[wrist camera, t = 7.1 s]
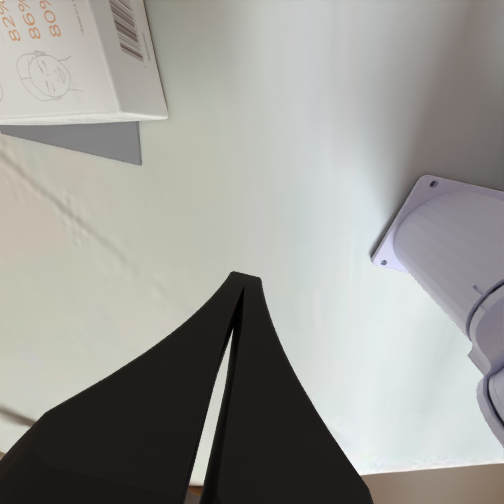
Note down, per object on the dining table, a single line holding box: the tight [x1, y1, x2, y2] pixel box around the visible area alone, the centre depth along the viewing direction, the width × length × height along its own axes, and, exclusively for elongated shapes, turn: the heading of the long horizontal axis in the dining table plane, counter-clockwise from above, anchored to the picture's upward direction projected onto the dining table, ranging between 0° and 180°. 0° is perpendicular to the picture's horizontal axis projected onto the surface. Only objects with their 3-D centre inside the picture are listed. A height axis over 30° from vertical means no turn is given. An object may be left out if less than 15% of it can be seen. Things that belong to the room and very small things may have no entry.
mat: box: [0, 121, 142, 165], centre depth 13 cm, size 12×16×1 cm
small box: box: [0, 0, 168, 125], centre depth 12 cm, size 8×6×10 cm
